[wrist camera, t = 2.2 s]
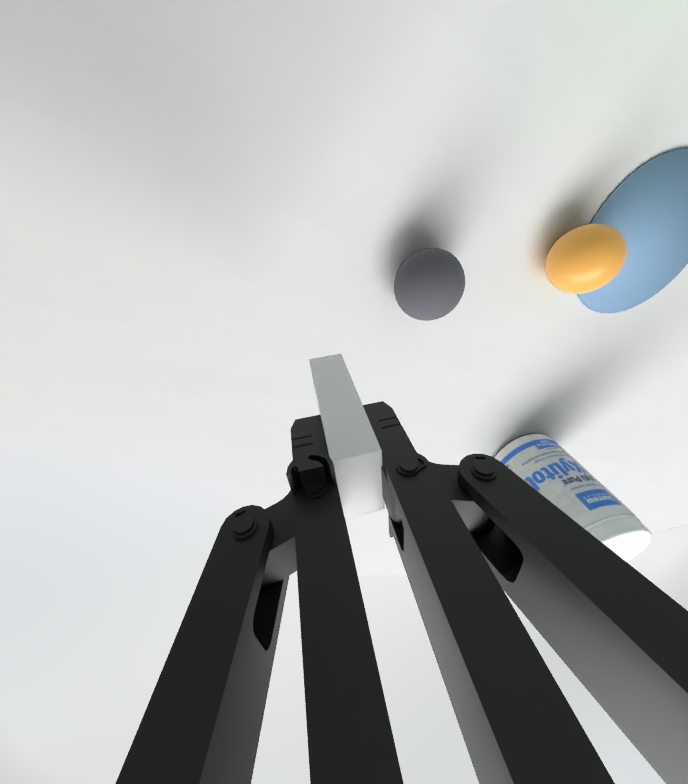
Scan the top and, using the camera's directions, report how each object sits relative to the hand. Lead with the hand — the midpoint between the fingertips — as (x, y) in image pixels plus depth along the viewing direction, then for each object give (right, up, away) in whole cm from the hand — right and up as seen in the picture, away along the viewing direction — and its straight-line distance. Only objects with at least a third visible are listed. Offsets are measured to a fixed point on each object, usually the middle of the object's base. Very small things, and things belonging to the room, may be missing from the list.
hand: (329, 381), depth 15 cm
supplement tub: (+26, -10, +30) cm, 40 cm away
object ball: (+21, +11, +11) cm, 26 cm away
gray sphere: (+8, +8, +10) cm, 15 cm away
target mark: (+29, +14, +15) cm, 36 cm away
